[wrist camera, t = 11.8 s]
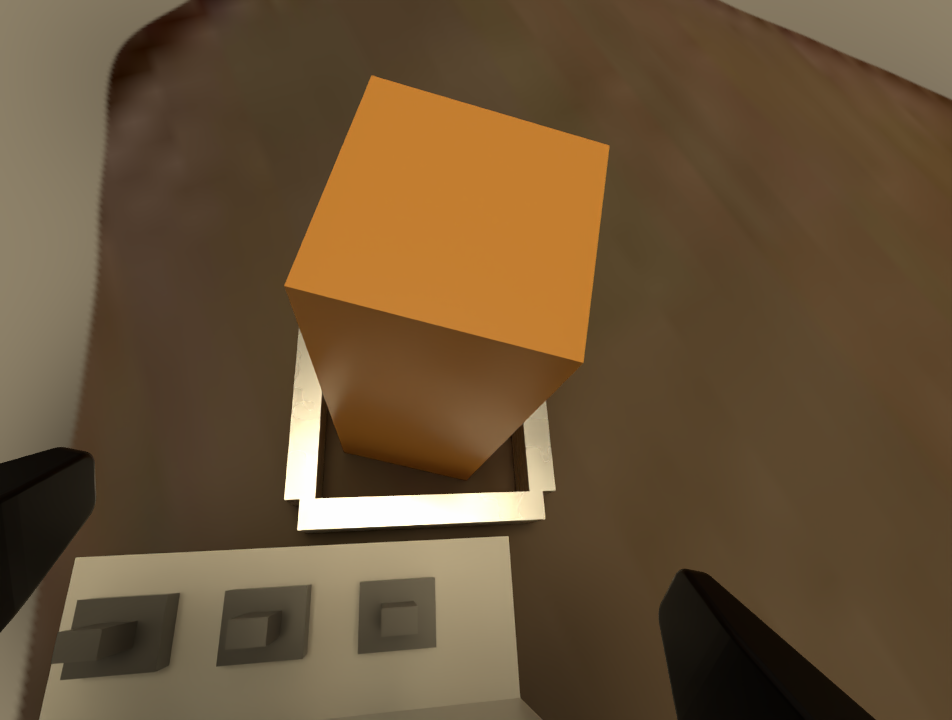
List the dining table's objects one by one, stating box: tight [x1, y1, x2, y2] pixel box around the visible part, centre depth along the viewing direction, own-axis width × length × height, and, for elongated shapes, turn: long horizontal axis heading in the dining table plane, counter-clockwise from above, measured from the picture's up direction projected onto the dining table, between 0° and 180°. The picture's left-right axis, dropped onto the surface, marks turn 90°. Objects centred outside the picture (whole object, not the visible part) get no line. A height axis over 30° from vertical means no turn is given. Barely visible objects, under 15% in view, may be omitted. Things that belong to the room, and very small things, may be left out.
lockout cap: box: [284, 76, 609, 480], centre depth 15 cm, size 5×5×13 cm
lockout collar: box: [284, 328, 556, 533], centre depth 20 cm, size 10×10×2 cm
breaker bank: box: [39, 536, 542, 720], centre depth 14 cm, size 6×14×8 cm, turn 93°
